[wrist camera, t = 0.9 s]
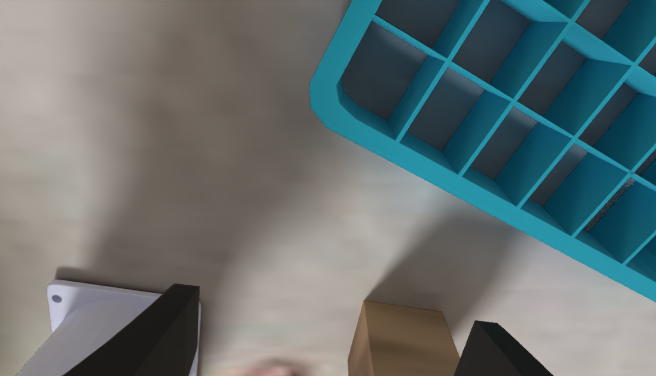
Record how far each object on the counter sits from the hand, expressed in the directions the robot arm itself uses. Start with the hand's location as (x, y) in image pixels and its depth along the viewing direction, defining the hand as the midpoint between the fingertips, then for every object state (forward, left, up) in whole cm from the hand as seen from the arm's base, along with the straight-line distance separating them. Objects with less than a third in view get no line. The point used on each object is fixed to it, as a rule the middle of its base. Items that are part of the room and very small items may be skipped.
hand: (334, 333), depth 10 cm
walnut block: (-9, -5, -10) cm, 14 cm away
